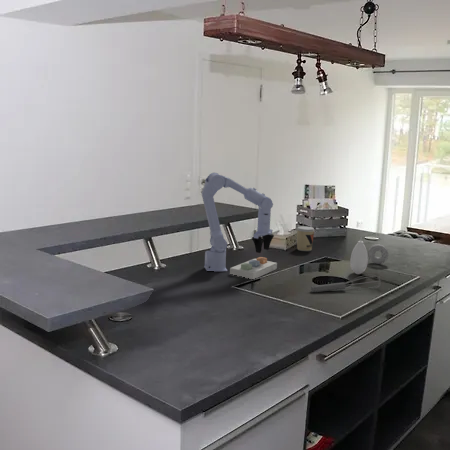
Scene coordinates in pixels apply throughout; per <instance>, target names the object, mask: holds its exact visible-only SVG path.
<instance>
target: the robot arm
mask: <svg viewBox="0 0 450 450" xmlns="http://www.w3.org/2000/svg"><path fill="white" fill-rule="evenodd" d="M222 188H224V189H225V188H226V189H227V188H231V189H233V190H235V191H236V192H238V193H240V194H242V195H243V198H244V199H245V200H246V201H248V202H250V203H252V204H254V205H255V206H257V207H258V212H257V227H256V228H257V231H256V232H255V233H253V236H252V237H251V239H252V241H253V245H254V249H255V252H256V253H258V254H261V253H262V249H263V250H266V251H269V250H270V246H271V243H272V240H273V238H274V237H275V235H274V234H273V229H271V217H272V216H271V212H272V208H273V205H274V203H273V201H272V199H271V198H270V197H268V196H267V195H266V194H265V193H264V192H263V193H261V192H260V191H258V190H257V188H255V187H248V188H247V187H245V186H243V185H241V184H240V183H238V182H236V181H235V180H233V179H231V177H230V178H229V177H227V176H226V175H222V174H219V173H217V172H212V173H210V174H209V175H208V176H207V177H206V178H205V182H204V185H203V188H202V191H201V197H202V201H203V206H204V211H205V214H206V218H207V223H208V227H209V234H210V238H209V244H210V245H211V247H210V250H206V251H204V252H205V253H204V266H203V267H204V269H205V271H206V272H207V271H214V272H228V269H227V267H226V262H227V261H226V260H227V259H226V258H227V247H228V243H227V240H226V239H225V238H224V234H223V232H222V229H221V225H220V224H221V223H220V220H219V216H218V212H217V208H216V203H215V198H214V197H215V195H216V194H217V192H218V191H219V190H221V189H222Z"/></svg>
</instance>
